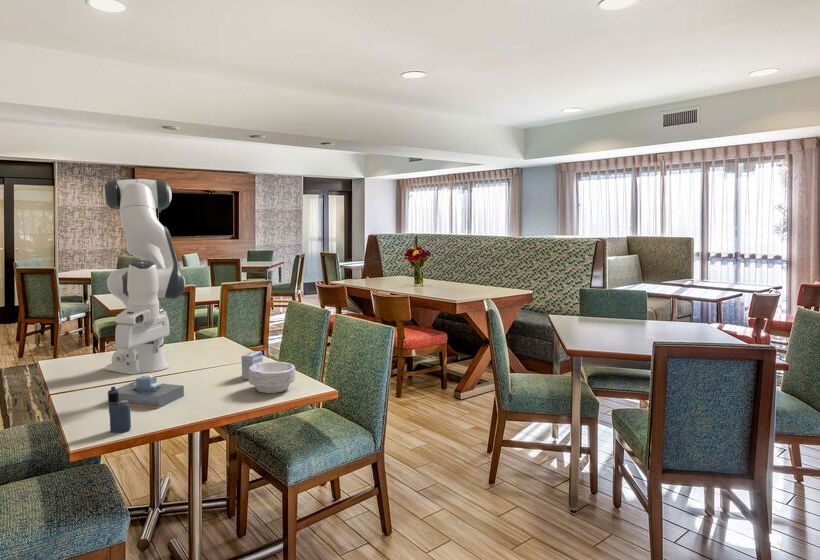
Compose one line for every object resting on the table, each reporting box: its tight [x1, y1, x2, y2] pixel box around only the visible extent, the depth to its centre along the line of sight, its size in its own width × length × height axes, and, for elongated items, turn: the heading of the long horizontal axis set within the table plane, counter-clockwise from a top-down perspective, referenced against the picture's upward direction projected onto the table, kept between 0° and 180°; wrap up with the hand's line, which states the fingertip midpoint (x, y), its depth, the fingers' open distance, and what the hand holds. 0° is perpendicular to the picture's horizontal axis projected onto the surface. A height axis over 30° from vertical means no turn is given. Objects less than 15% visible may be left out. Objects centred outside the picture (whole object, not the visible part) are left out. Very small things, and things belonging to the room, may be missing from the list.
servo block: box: [134, 374, 161, 392], centre depth 171 cm, size 7×3×8 cm, turn 77°
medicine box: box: [241, 350, 264, 381], centre depth 197 cm, size 8×4×9 cm, turn 168°
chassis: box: [106, 380, 185, 409], centre depth 170 cm, size 18×13×4 cm
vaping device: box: [107, 386, 132, 433], centre depth 145 cm, size 3×5×12 cm, turn 95°
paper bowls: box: [248, 361, 296, 394], centre depth 183 cm, size 15×15×8 cm
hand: (144, 356), depth 170 cm, fingers open, 8 cm apart
